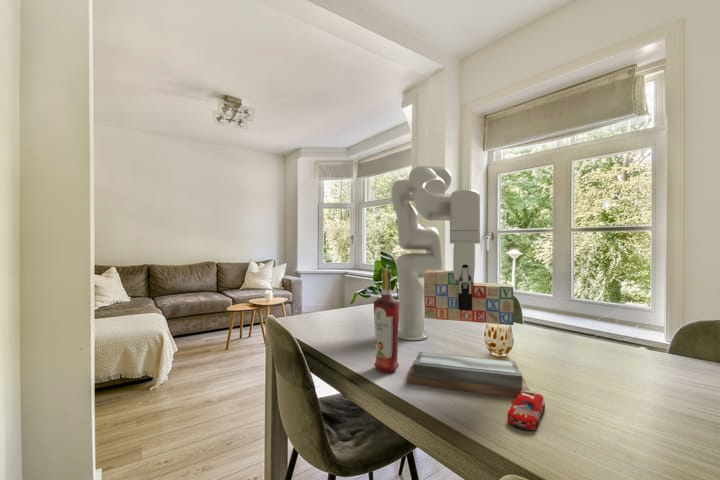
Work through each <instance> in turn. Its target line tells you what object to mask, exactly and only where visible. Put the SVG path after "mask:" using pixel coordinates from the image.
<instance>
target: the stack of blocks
mask: <svg viewBox="0 0 720 480" xmlns="http://www.w3.org/2000/svg"><path fill="white" fill-rule="evenodd" d="M462 273H463V271H462ZM453 279H454V273H453V270H442V271H433V270H428V271H426V272H424V278H423V289H424V319H430V320H431V319H432V320H443V321H456V322H468V323H469V322H470V323H481V324H493V325H494V324H496V325H508V326H514V319H515V318H514V317H515V315H514V310H515V307H514V306H515V305H514V286H513V284H511V283H498V282H497V283H494V282H492V283H490V282H475V281H474V282H472V283H471V294H472V310H459V308H458V293H459V280H456V282H454V281H453ZM461 281H463V279H461ZM468 281H469V279H468Z"/></svg>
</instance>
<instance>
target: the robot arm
mask: <svg viewBox="0 0 720 480" xmlns="http://www.w3.org/2000/svg"><path fill="white" fill-rule="evenodd" d="M392 184H393V185H392V187H391V201H392V205H393V209H394V211H395V214H396V220H397V236H398V244H399V248H401V249H402V250H406V251H425V252H426V253H425V252H421V253H420V252H415V253H414V252H411V253H410V252H409V253H403V254H401V255H399V256H398V257H397V259H396V265H395V266H396V273H397V278H398V280H397V281H398V301H399V302H400V305H399V328H398V339H400V340H405V341H422V340H426V339H428V338H429V333H428V332H427V331H426V330H425V313H424V312H425V309H424V308H425V304H424V286H423V285H422V284H421V282H420V281H419V279H424V272H426V271H428V270H433V271H443V256H442V246H441V236H440V233H439V231H438V229H437V227H435V226H431V225H421V224H420V216H421V217H422V218H423V219H425V220H427V221H444V222H445V221H446V222H447V221H449V244H451V245H452V244H453V254H452V255H453V256H452V258H453V259H452V260H453V266H452V267H453V268H452V269H453V270H452V271H453V273H454V279H453V281H454V282H456V280H459V293H458V308H459V310H472V294H471V283H472V282H474V283H475V270H476V244H478V245H479V244H480V245H481V196H480V192H478V191H477V190H475V189H459V190H455V191H452V192H451V193H445V192H446V191H447V190H448V189H449V188H450V187H451V184H452V175H451V171H450V170H449V169H448V168H446V167H444V166H433V165H419V166H418V165H417V166H416V167H414V168H413V169H412V170H410V172H409V175H408V178H407V179H405V178H404V179H398V180H396V181H395V182H394V183H392ZM410 202H413V203H414V205H415V207H414V206H413V204H411V203H410ZM462 271H463V273H462ZM461 279H463V281H461ZM468 279H469V281H468Z"/></svg>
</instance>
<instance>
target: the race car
mask: <svg viewBox="0 0 720 480" xmlns="http://www.w3.org/2000/svg"><path fill="white" fill-rule="evenodd" d="M510 403H512V405H511V406H510V408H509V410H508V411H507V417H506V418H507V422H508V423H509V424H510V425H512V426H514V427H515V428H516V427H517V428H519V429H522V430H527V431H537V429H538V426H539V425H540V422H541V420H542V417H544V416H543V415H544V413H545V410H546V403H545V398H544V396H543V394H541V393H538V392H536V391H535V392H534V391H532V390H530V391H522V392H521V393H520V394H519V395H518V397H517V398H515V399H514V401H513V400H511V401H510Z"/></svg>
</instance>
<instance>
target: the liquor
mask: <svg viewBox="0 0 720 480" xmlns="http://www.w3.org/2000/svg"><path fill="white" fill-rule="evenodd" d="M391 278H392V269H385V268H383V269H381V279H382V283H381V284H382V285H381V296H380V297H378V298H377V299H375V300H374V301H373V320H374V337H375V339H374V340H375V342H374V343H375V363H374V364H373V365H374V367H375V368H376V369H377V370H378V371H379V372H381V373H384V374H385V373H387V374H389V373H390V374H391V373H394V372H395V371H396V370H397V369H398V368H399V366H400V364H399V362H398V352H399V351H398V345H399V338H398V330H399V305H400V302H399V299H397V298H395V297H393V296H392V295H393V294H392V286H391V283H392V282H391V280H392V279H391Z"/></svg>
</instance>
